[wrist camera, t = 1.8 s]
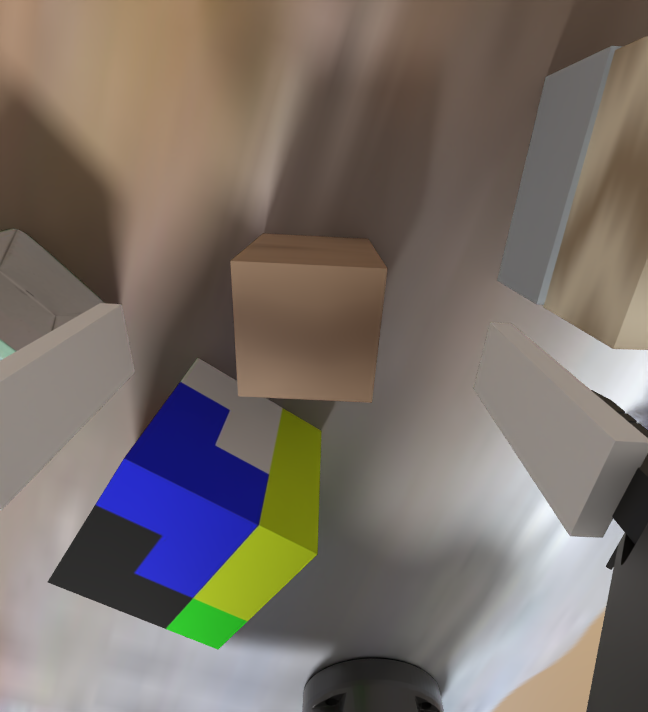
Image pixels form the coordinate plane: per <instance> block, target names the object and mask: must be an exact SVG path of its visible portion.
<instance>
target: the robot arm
mask: <svg viewBox="0 0 648 712" xmlns="http://www.w3.org/2000/svg"><path fill="white" fill-rule="evenodd" d="M134 373H135V369H134V364H133V359H132V354H131V349H130V344H129V339H128V334H127V328H126V323H125V318H124V313H123V308H122V304H106V303H100V304H98V305H96V306H94V307H93V308H91V309H89V310H87V311H86V312H84V313H82V314H80V315H79V316H77V317H75V318H74V319H72V320H70V321H68V322H67V323H65V324H63V325H61V326H60V327H58V328H56V329H54V330H53V331H51V332H49V333H47V334H46V335H44V336H42V337H41V338H39V339H37V340H35V341H34V342H32V343H30V344H28V345H27V346H25V347H23V348H21V349H20V350H18V351H16V352H14V353H13V354H11V355H9V356H7V357H6V358H4V359H2V360H1V361H0V510H3V509H4V507H5V506H6V505H7V504H8V503H9V502H10V501H11V500H12V499H13V498H14V497H15V496H16V495H17V494H18V493H19V492H20V491H21V490H22V489H23V488H24V487H25V486H26V485H27V484H28V483H29V482H30V481H31V480H32V479H33V478H34V476H35V475H36V474H37V473H38V472H39V471H40V470H41V469H42V468H43V467H44V466H45V465H46V464H47V463H48V462H49V461H50V460H51V459H52V458H53V457H54V456H55V455H56V454H57V453H58V452H59V451H60V450H61V449H62V448H63V447H64V445H65V444H66V443H67V442H68V441H69V440H70V439H71V438H72V437H73V436H74V435H75V434H76V433H77V432H78V431H79V430H80V429H81V428H82V427H83V426H84V425H85V424H86V423H87V422H88V421H89V420H90V419H91V418H92V417H93V416H94V414H95V413H96V412H97V411H98V410H99V409H100V408H101V407H102V406H103V405H104V404H105V403H106V402H107V401H108V400H109V399H110V398H111V397H112V396H113V395H114V394H115V393H116V392H117V391H118V390H119V389H120V388H121V387H122V386H123V385H124V383H125V382H126V381H127V380H128V379H129V378H130V377H131V376H132V375H133V374H134ZM473 389H474V391H475V392H476V394H477V395H478V397H479V398H480V400H481V401H482V403H483V404H484V406H485V407H486V409H487V410H488V412H489V413H490V415H491V416H492V418H493V420H494V421H495V423H496V424H497V426H498V427H499V429H500V430H501V432H502V433H503V435H504V436H505V438H506V439H507V441H508V442H509V444H510V445H511V447H512V449H513V450H514V452H515V453H516V455H517V456H518V458H519V459H520V461H521V462H522V464H523V465H524V467H525V468H526V470H527V471H528V473H529V474H530V476H531V477H532V479H533V481H534V482H535V484H536V485H537V487H538V488H539V490H540V491H541V493H542V494H543V496H544V497H545V499H546V500H547V502H548V503H549V505H550V506H551V508H552V510H553V511H554V513H555V514H556V516H557V517H558V519H559V520H560V522H561V523H562V525H563V526H564V528H565V529H566V531H567V532H568V534H569V535H570V536H579V537H601V538H603V536H604V534H605V532H606V531H607V529H608V527H609V525H610V523H611V521H612V519H613V518H614V520H615V521H616V522H617V523H618V524H619V526H620V527H621V528H622V529H623V531H624V532H625V533H624V535H623V537H622V539H621V540H620V542H619V544H618V546H617V547H616V549H615V551H614V553H613V554H612V556H611V558H610V560H609V561H608V563H607V565H606V567H607V568H609V569H611V570H612V568H613V567H614V569H613V574H612V580H611V585H610V590H609V595H608V601H607V606H606V611H605V616H604V622H603V627H602V632H601V638H600V643H599V648H598V654H597V658H596V664H595V669H594V674H593V679H592V685H591V690H590V695H589V700H588V706H587V711H586V712H648V430H647V429H646V428H644V427H643V426H642V425H641V424H638V423H636V420H635V419H633V418H632V417H631V416H630V415H628V414H625V411H624V410H622V409H621V408H620V407H619V406H617V405H616V404H615V403H614V402H613V401H611V400H610V399H608V398H606V397H604V396H602V395H600V394H598V393H596V392H594V391H593V390H590V389H589V388H588V387H586V386H585V385H584V384H583V383H582V382H580V381H579V380H578V379H577V378H576V377H575V376H573V375H572V374H571V373H570V372H569V371H567V370H566V369H565V368H564V367H563V366H561V365H560V364H559V363H558V362H557V361H556V360H554V359H553V358H552V357H551V356H550V355H548V354H547V353H546V352H545V351H544V350H543V349H541V348H540V347H539V346H538V345H537V344H535V343H534V342H533V341H532V340H531V339H529V338H528V337H527V336H526V335H525V334H524V333H522V332H521V331H520V330H519V329H518V328H516V327H515V326H514V325H513V324H512V323H494V322H490V325H489V329H488V333H487V337H486V341H485V344H484V348H483V352H482V356H481V360H480V364H479V368H478V372H477V376H476V380H475V384H474V388H473ZM302 712H444V709H443V705H442V700H441V695H440V691H439V687H438V685H437V683H436V681H435V680H434V679H433V678H432V677H431V676H430V675H429V674H428V673H426V672H425V671H423V670H422V669H420V668H418V667H415V666H413V665H410V664H407V663H404V662H400V661H395V660H388V659H358V660H351V661H346V662H342V663H339V664H335V665H333V666H330V667H328V668H326V669H324V670H322V671H320V672H319V673H317V674H316V675H315V676H313V677H312V678H311V679H310V680H309V682H308V683H307V684H306V686H305V689H304V693H303V711H302Z"/></svg>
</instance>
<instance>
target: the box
mask: <svg viewBox="0 0 648 712" xmlns="http://www.w3.org/2000/svg"><path fill="white" fill-rule="evenodd" d="M100 303H105V302H103V301H102V300H101V299H100V298H99V297H98V296H97V295H96V294H95V293H93V292H92V291H91V290H90V289H89V288H88V287H87V286H86V285H85V284H83V283H82V282H81V281H80V280H79V279H78V278H77V277H76V276H75V275H73V274H72V273H71V272H70V271H69V270H68V269H67V268H66V267H64V266H63V265H62V264H61V263H60V262H59V261H58V260H57V259H56V258H54V257H53V256H52V255H51V254H50V253H49V252H47V251H46V250H45V249H44V248H43V247H42V246H40V245H39V244H38V243H37V242H36V241H34V240H33V239H32V238H31V237H29V236H28V235H27V234H26V233H24V232H22V231H20V230H18V229H8V230H3V231H0V361H1V360H2V359H4V358H6V357H7V356H9V355H11V354H13V353H14V352H16V351H18V350H20V349H21V348H23V347H25V346H27V345H28V344H30V343H32V342H34V341H35V340H37V339H39V338H41V337H42V336H44V335H46V334H47V333H49V332H51V331H53V330H54V329H56V328H58V327H60V326H61V325H63V324H65V323H67V322H68V321H70V320H72V319H74V318H75V317H77V316H79V315H80V314H82V313H84V312H86V311H87V310H89V309H91V308H93V307H94V306H96V305H98V304H100Z"/></svg>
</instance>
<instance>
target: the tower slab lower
mask: <svg viewBox="0 0 648 712" xmlns="http://www.w3.org/2000/svg"><path fill="white" fill-rule="evenodd" d="M621 47H623V46H610V47H608V48H606V49H604V50H602V51H599V52H597V53H595V54H593V55H591V56H589V57H587V58H585V59H582V60H580V61H578V62H576V63H574V64H572V65H570V66H568V67H566V68H563V69H561V70H559V71H557V72H555V73H553V74H551V75H549V76H546V78H545V82H544V86H543V91H542V95H541V99H540V103H539V107H538V112H537V116H536V120H535V124H534V128H533V133H532V137H531V141H530V145H529V149H528V154H527V158H526V162H525V166H524V170H523V175H522V179H521V183H520V187H519V191H518V195H517V200H516V204H515V208H514V212H513V216H512V221H511V225H510V229H509V233H508V237H507V242H506V246H505V250H504V254H503V258H502V263H501V267H500V271H499V275H498V279H497V281H499V282H500V283H502V284H504V285H505V286H507V287H509V288H510V289H512V290H514V291H515V292H517V293H519V294H520V295H522V296H523V297H525V298H527V299H528V300H530V301H532V302H533V303H535V304H539V305H544V303H545V300H546V296H547V292H548V289H549V285H550V282H551V278H552V275H553V271H554V267H555V264H556V260H557V257H558V253H559V249H560V246H561V242H562V239H563V235H564V231H565V228H566V224H567V221H568V217H569V213H570V210H571V206H572V203H573V199H574V196H575V192H576V188H577V185H578V181H579V178H580V174H581V170H582V167H583V163H584V160H585V156H586V152H587V149H588V145H589V142H590V138H591V135H592V131H593V127H594V124H595V120H596V117H597V113H598V109H599V106H600V102H601V99H602V95H603V91H604V88H605V84H606V81H607V77H608V73H609V70H610V66H611V63H612V59H613V56H614V52H615V50H617V49H619V48H621Z"/></svg>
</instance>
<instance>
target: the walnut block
mask: <svg viewBox="0 0 648 712" xmlns="http://www.w3.org/2000/svg"><path fill="white" fill-rule="evenodd" d="M230 264H231V282H232V299H233V317H234V334H235V351H236V369H237V386H238V396H241V397H263V398H284V399H306V400H327V401H348V402H370V403H372V396H373V388H374V379H375V371H376V362H377V354H378V345H379V337H380V328H381V319H382V311H383V302H384V294H385V285H386V277H387V267H386V266H385V264H384V263H383V261H382V259H381V258H380V256H379V255H378V253H377V252H376V250H375V249H374V247H373V245H372V244H371V242H370V241H369V239H364V238H344V237H324V236H304V235H284V234H264V233H263V234H262V235H261V236H260V237H258V238H257V239H256V240H255V241H254V242H252V243H251V244H250V245H249V246H248V247H246V248H245V249H244V250H243V251H242V252H240V253H239V254H238V255H237V256H236V257H234V258H233V259H232V260H231V261H230Z"/></svg>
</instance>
